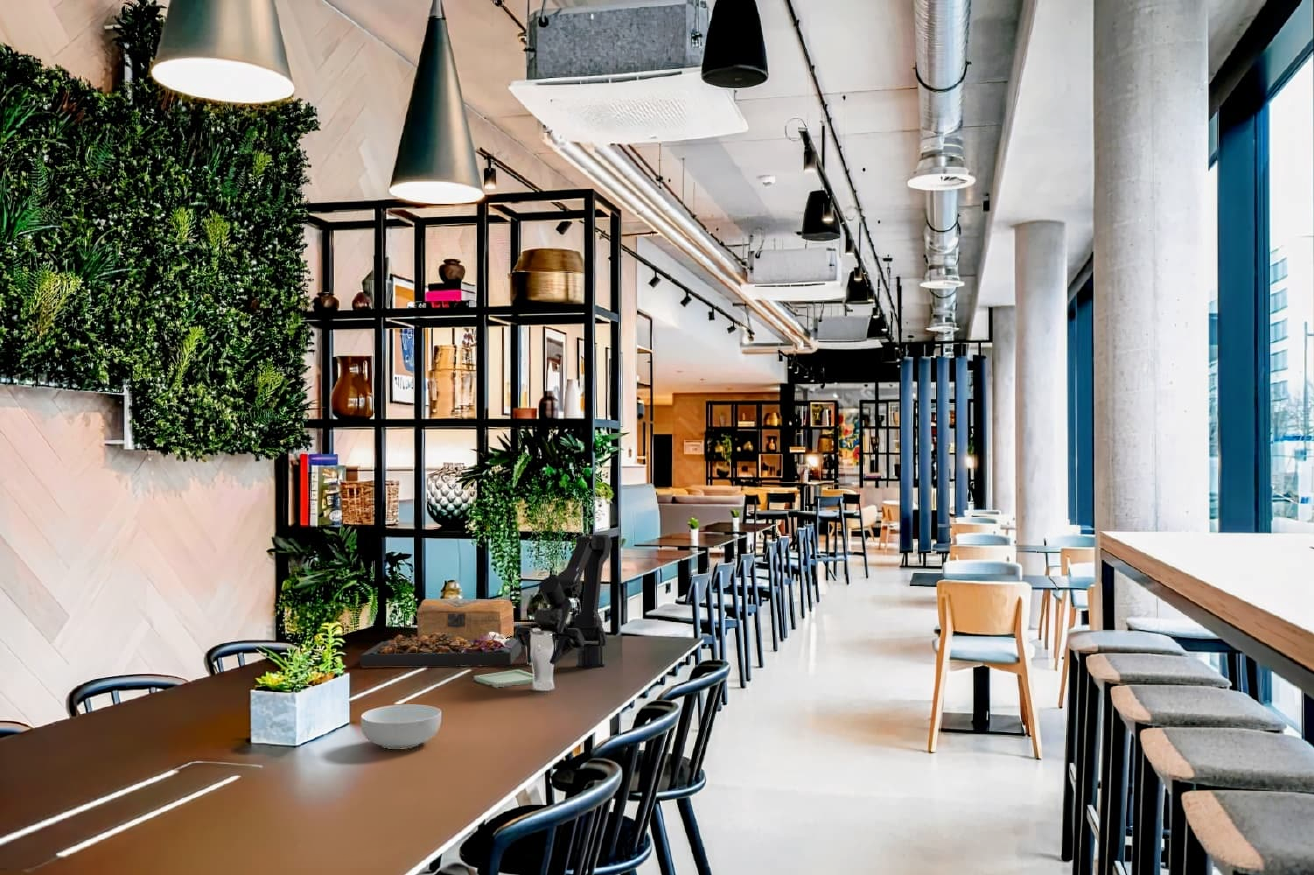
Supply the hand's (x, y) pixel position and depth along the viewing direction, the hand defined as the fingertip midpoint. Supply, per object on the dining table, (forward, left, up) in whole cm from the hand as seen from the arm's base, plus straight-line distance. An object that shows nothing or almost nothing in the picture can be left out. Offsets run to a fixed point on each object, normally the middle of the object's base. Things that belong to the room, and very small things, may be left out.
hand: (540, 663), depth 285 cm
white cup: (-18, -34, -7) cm, 39 cm away
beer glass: (-1, -1, -7) cm, 7 cm away
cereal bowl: (+51, +29, -7) cm, 59 cm away
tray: (+1, -17, -7) cm, 18 cm away
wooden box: (-21, -90, -8) cm, 93 cm away
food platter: (+1, -60, -8) cm, 60 cm away
